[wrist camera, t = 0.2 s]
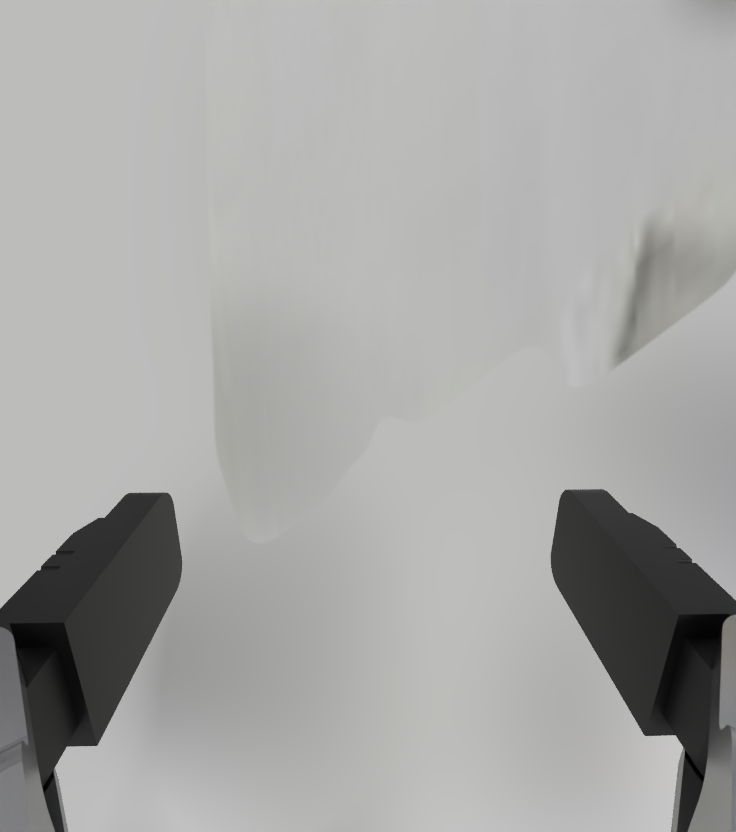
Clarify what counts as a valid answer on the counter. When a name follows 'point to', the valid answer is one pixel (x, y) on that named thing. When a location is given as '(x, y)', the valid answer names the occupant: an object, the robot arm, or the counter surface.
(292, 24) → the counter surface
